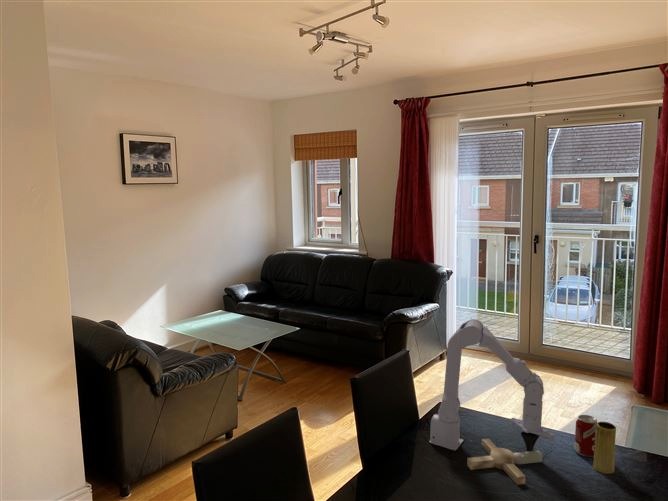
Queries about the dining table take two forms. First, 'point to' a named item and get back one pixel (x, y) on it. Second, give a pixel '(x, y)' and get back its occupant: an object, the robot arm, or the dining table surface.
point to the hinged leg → (527, 457)
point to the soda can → (585, 435)
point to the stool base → (497, 461)
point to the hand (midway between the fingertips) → (529, 453)
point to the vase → (605, 448)
